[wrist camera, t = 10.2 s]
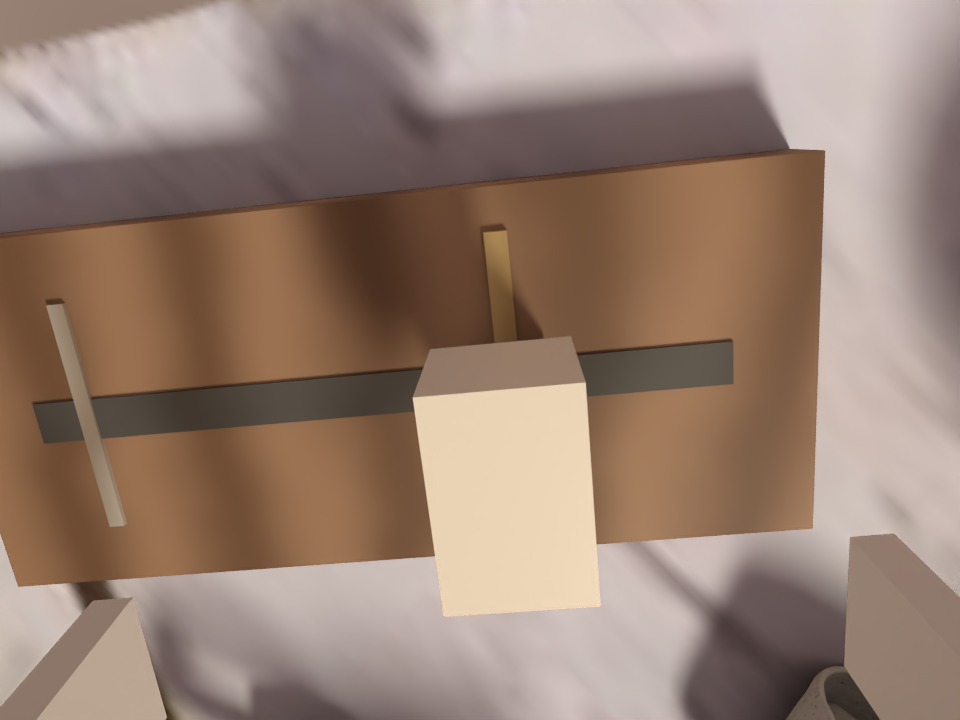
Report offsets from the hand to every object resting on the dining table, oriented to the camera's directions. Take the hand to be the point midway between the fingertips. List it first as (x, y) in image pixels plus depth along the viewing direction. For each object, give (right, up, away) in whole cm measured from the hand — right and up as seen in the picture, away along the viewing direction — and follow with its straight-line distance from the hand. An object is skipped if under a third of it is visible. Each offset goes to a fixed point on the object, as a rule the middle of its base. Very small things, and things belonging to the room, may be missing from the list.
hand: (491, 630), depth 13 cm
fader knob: (+1, +4, +13) cm, 13 cm away
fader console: (-4, +5, +16) cm, 17 cm away
